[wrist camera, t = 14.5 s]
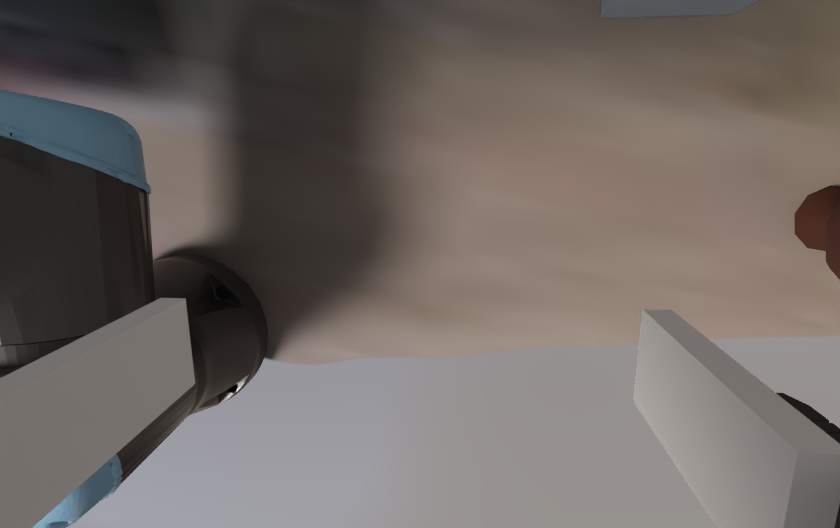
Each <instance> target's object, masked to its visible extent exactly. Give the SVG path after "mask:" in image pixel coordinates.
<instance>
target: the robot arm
mask: <svg viewBox="0 0 840 528" xmlns="http://www.w3.org/2000/svg"><path fill="white" fill-rule="evenodd" d="M150 193H151V188H150V186H149V184H148V183H147V180H146V174H145V166H144V158H143V150H142V143H141V140H140V137H139V135H138V133H137V132H136V130H135V129H134V128H133V127H132V126H131V125H130V124H129V123H128V122H126V121H125V120H123V119H122V118H120V117H118V116H115V115H113V114H110V113H107V112H103V111H100V110H96V109H92V108H88V107H84V106H79V105H75V104H71V103H66V102H61V101H57V100H52V99H47V98H42V97H37V96H32V95H26V94H21V93H16V92H10V91H4V90H0V528H66V527H68V526H69V525H71V524H73V523H74V522H75V521H77V520H78V519H80V518H81V517H82V516H83V515H84V514H85V513H86V512H88V511H89V510H90V509H91V508H92V507H93V506H95V505H96V504H97V503H98V502H99V501H101V500H103V499H105V498H107V497H108V496H109V495H111V494H112V493H113V492H115V490H116V489H117V488H118V487H119V485H120V484H121V483H122V482H123V481H124V480H125V479H126V478H127V477H128V476H129V475H130V474H131V473H132V472H133V471H134V470H135V469H136V468H137V467H138V466H139V465H140V464H141V463H142V462H143V461H144V460H145V459H146V458H147V457H148V456H149V455H150V454H151V453H152V452H153V451H154V450H155V449H156V448H157V446H159V445H160V444H161V443H162V442H163V441H164V440H165V439H166V438H167V437H168V436H169V435H170V434H171V433H172V432H173V431H174V430H175V429H176V428H177V427H178V426H179V425H180V424H181V422H183V420H184V419H185V418H186V417H187V416H189V415H191V414H193V413H196V412H199V411H202V410H204V409H207V408H210V407H213V406H215V405H218V404H221V403H223V402H225V401H226V400H228V399H230V398H232V397H233V396H234V395H236V394H237V393H238V392H240V390H242V389H243V388H244V387H245V385H246V384H247V383H248V382H249V381H250V380H251V379H252V378H253V377H254V375H255V374H256V373H257V371H258V370H259V368H260V366H261V364H262V361H263V359H264V356H265V352H266V347H267V327H266V321H265V317H264V314H263V311H262V309H261V306H260V304H259V302H258V300H257V298H256V297H255V295H254V294H253V292H252V291H251V289H250V288H249V287H248V286H247V285H246V283H245V282H244V281H243V280H242V279H241V278H240V277H239V276H237V275H236V274H235V273H234V272H232V271H231V270H230V269H228V268H226V267H225V266H223V265H221V264H219V263H217V262H215V261H212V260H210V259H207V258H203V257H199V256H193V255H174V256H169V257H165V258H162V259H159V260H156V261H153V257H152V240H151V224H150V208H149V194H150ZM633 401H634V403H635V404H636V406H637V407H638V409H639V410H640V412H641V413H642V415H643V416H644V418H645V420H646V421H647V423H648V424H649V426H650V427H651V429H652V430H653V432H654V433H655V435H656V436H657V438H658V439H659V441H660V442H661V444H662V445H663V447H664V448H665V450H666V451H667V453H668V454H669V456H670V457H671V459H672V461H673V462H674V464H675V465H676V467H677V468H678V470H679V471H680V473H681V474H682V476H683V477H684V479H685V480H686V482H687V483H688V485H689V486H690V488H691V489H692V491H693V492H694V494H695V495H696V497H697V498H698V500H699V501H700V503H701V504H702V506H703V507H704V509H705V511H706V512H707V514H708V515H709V517H710V518H711V520H712V521H713V523H714V524H715V526H716V527H717V528H840V429H839V428H838V427H837V426H836V425H834V424H833V423H829V420H827V419H826V418H825V417H824V416H822V415H821V414H819V413H818V412H817V411H816V410H814V409H813V408H812V407H810V406H808V405H807V404H805V403H802V402H800V401H798V400H796V399H794V398H792V397H790V396H788V395H786V394H784V393H775V392H774V391H773V390H771V389H770V388H769V387H768V386H766V385H765V384H764V383H763V382H761V381H760V380H759V379H758V378H756V377H755V376H754V375H752V374H751V373H750V372H749V371H747V370H746V369H745V368H744V367H742V366H741V365H740V364H739V363H737V362H736V361H735V360H734V359H732V358H731V357H730V356H729V355H727V354H726V353H725V352H724V351H722V350H721V349H720V348H718V347H717V346H716V345H715V344H714V343H712V342H711V341H710V340H709V339H707V338H706V337H705V336H704V335H702V334H701V333H700V332H699V331H697V330H696V329H695V328H693V327H692V326H691V325H690V324H688V323H687V322H686V321H685V320H683V319H682V318H681V317H680V316H678V315H677V314H676V313H675V312H673V311H672V310H647V309H643V311H642V320H641V330H640V340H639V350H638V360H637V369H636V378H635V388H634V399H633Z"/></svg>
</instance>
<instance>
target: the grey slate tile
mask: <svg viewBox="0 0 840 528" xmlns="http://www.w3.org/2000/svg"><path fill="white" fill-rule="evenodd" d="M758 1H760V0H602V3H601V17H600V18H620V17H661V16H701V15H732V14H734V13H736V12H738V11H740V10H742V9H744V8H746V7H748V6H750V5H752V4H754V3H756V2H758Z"/></svg>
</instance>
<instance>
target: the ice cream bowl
mask: <svg viewBox="0 0 840 528" xmlns="http://www.w3.org/2000/svg"><path fill="white" fill-rule="evenodd" d="M795 234H796V235H797V237H798V238H799V239H800V240H801V241H802V242H803V243H804V245H805V246H806V247H807V248H811V249H817V250H823V251H826V262H827V264H828V266H829V268H830V269H831V270H832V271H833V272H834V274H835V275H836V276H837V277H838V278H839V279H840V188H837V187H831V186H829V187H826V188H824V189H822V190H820V191H817V192H815V193H813V194H810V195H808V196H807V198H806V199H805V200H804V202H803V203H802V205H801V206H800V207H799V209H798V210H797V211H796V213H795Z"/></svg>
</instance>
